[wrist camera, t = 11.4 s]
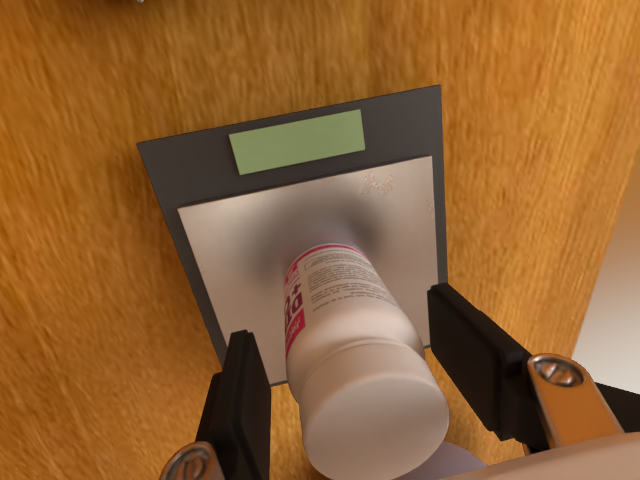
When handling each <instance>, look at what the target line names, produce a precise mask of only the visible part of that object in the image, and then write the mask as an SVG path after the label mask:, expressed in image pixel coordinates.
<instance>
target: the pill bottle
mask: <svg viewBox="0 0 640 480" xmlns="http://www.w3.org/2000/svg"><path fill="white" fill-rule="evenodd" d="M284 321H285V357H286V376H287V380H288V384H289V388H290V390H291V393H292V395H293V397H294V398H295V400H296V401H297V403H298V404H299V411H300V420H301V427H302V437H303V445H304V449H305V452H306V455H307V457H308V460H309V462H310V463H311V464H312V465H313V467H314V468H315V469H316V470H317V471H319V472H320V473H321V474H323V475H324V476H326V477H327V478H329V479H332V480H392V479H395V478H397V477H399V476H402V475H404V474H406V473H408V472H410V471H411V470H413V469H415V468H417V467H418V466H420V465H421V464H422V463H423V462H425V461H426V460H427V459H428V458H429V457H430V456H431V455H432V454H433V453H434V452H435V451H436V450H437V448H438V447H439V446H440V444H441V443H442V441H443V439H444V438H445V435H446V432H447V430H448V426H449V416H450V415H449V407H448V404H447V401H446V398H445V396H444V395H443V393H442V391H441V389H440V388H439V386H438V384H437V382H436V380H435V379H434V377H433V375H432V373H431V371H430V369H429V367H428V365H427V363H426V362H425V352H424V347H423V343H422V340H421V338H420V336H419V334H418V332H417V330H416V328H415V327H414V325H413V324H412V322H411V321H410V320H409V318H408V317H407V315H406V314H405V313H404V311H403V310H402V308H401V307H400V306H399V304H398V303H397V302H396V300H395V299H394V297H393V296H392V295H391V293H390V292H389V290H388V289H387V287H386V286H385V284H384V283H383V281H382V280H381V279H380V277H379V276H378V274H377V272H376V271H375V269H374V268H373V266H372V264H371V263H370V262H369V260H368V259H367V258H366V257H365V256H364V255H363V254H362V253H361V252H359V251H358V250H356V249H355V248H353V247H350V246H348V245H344V244H338V243H327V244H321V245H317V246H314V247H312V248H310V249H308V250H306V251H304V252H303V253H302V254H300V255H299V256H298V257H297V258H296V259H295V260H294V261H293V263H292V264H291V266H290V267H289V269H288V271H287V274H286V277H285V281H284Z"/></svg>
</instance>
